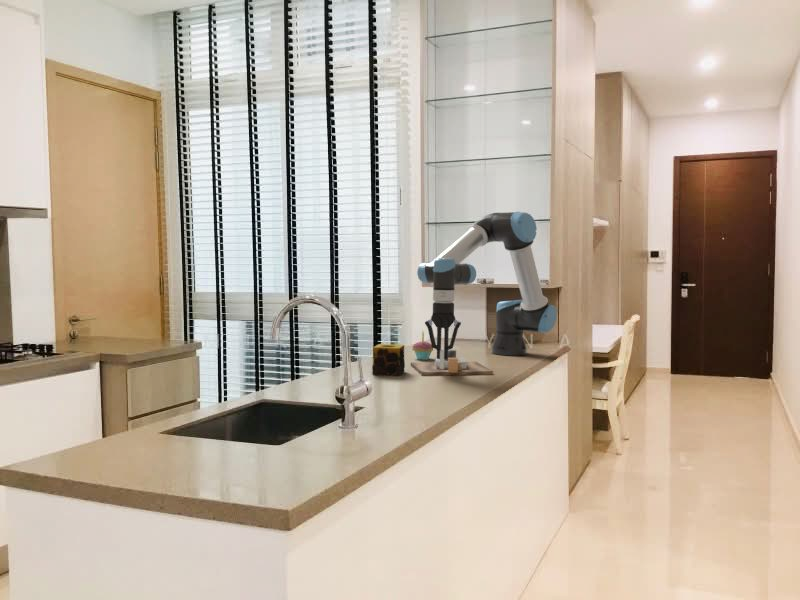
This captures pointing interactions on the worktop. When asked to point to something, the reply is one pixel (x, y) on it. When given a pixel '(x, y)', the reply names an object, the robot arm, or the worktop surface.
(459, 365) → the dowel
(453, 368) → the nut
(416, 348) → the cupcake
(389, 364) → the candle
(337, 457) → the worktop surface
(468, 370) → the base board
